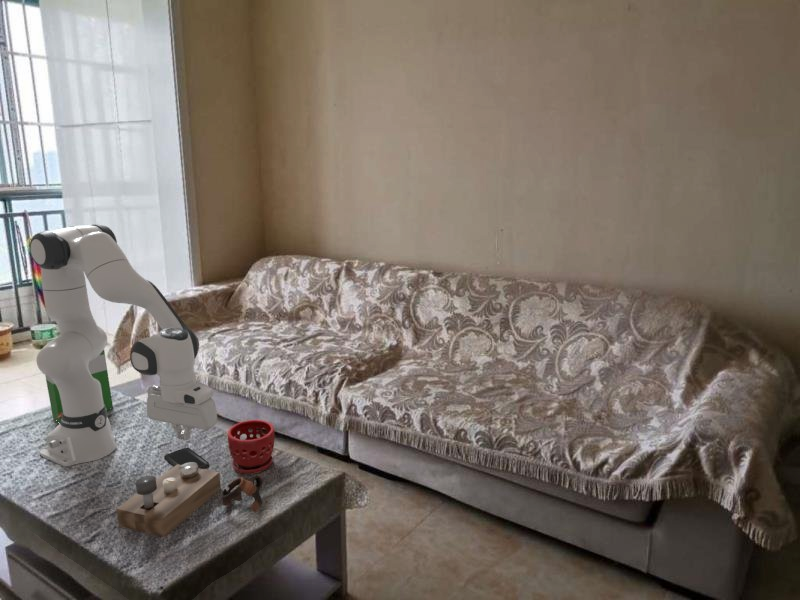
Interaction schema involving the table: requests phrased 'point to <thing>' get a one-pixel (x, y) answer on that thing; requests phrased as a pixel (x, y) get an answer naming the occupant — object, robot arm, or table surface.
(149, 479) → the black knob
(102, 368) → the hardback book
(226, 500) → the brown open round fixture
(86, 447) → the robot arm
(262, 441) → the plant pot
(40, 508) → the table surface
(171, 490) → the dial
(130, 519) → the mount
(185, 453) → the phone
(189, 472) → the silver knob
